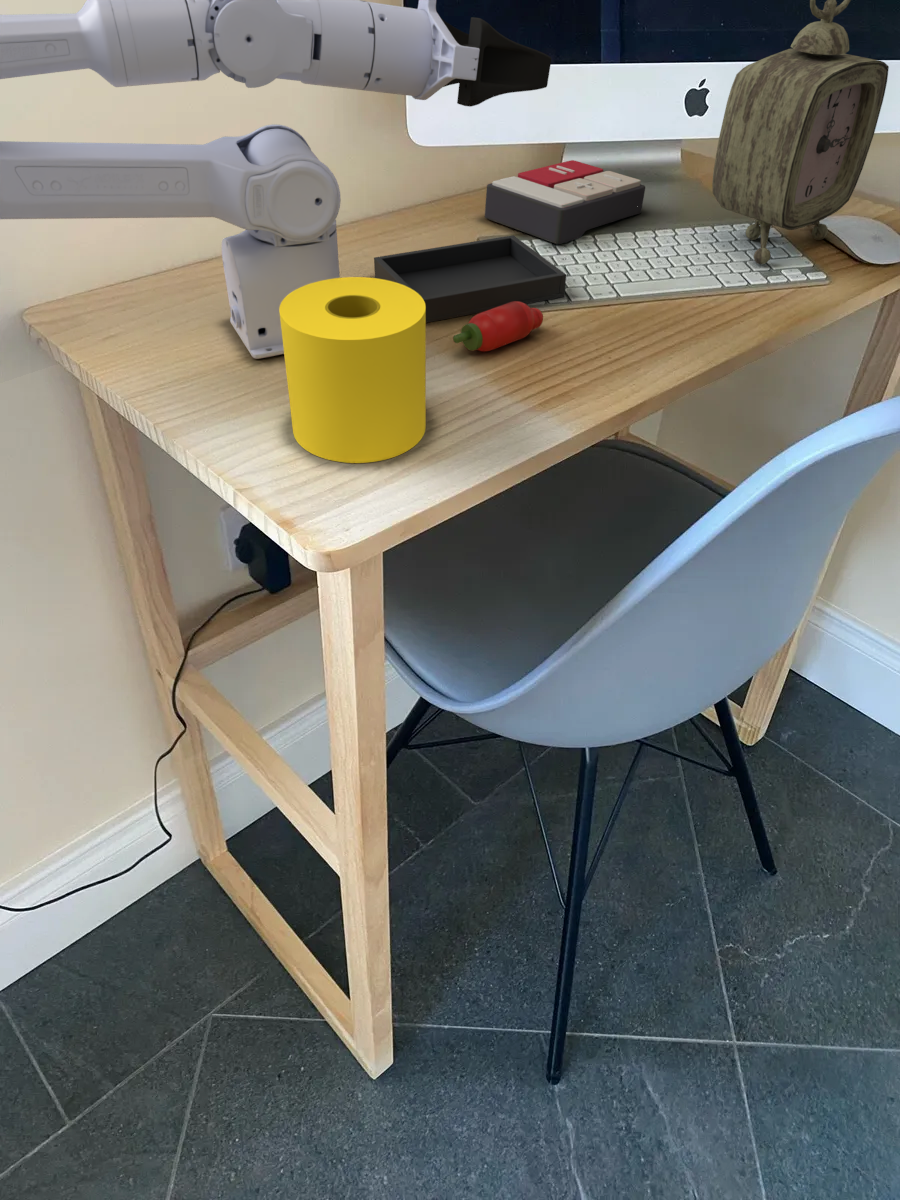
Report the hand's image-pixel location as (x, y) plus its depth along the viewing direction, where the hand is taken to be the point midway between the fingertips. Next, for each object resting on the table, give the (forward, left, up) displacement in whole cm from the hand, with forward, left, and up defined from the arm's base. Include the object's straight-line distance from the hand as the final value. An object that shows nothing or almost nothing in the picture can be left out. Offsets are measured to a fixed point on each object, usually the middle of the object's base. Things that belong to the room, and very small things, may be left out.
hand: (526, 67), depth 73 cm
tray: (-3, +4, -19) cm, 20 cm away
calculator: (+16, +18, -20) cm, 31 cm away
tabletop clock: (+32, +2, -20) cm, 38 cm away
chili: (-5, -7, -19) cm, 21 cm away
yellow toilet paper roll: (-21, -15, -20) cm, 33 cm away
